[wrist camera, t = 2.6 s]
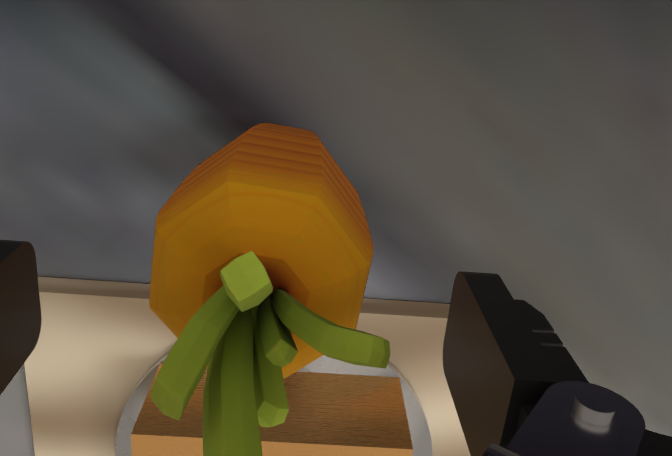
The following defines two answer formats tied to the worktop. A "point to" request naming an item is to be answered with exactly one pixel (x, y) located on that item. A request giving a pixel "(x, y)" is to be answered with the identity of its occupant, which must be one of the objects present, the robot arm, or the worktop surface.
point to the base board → (156, 339)
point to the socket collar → (295, 416)
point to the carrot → (258, 281)
